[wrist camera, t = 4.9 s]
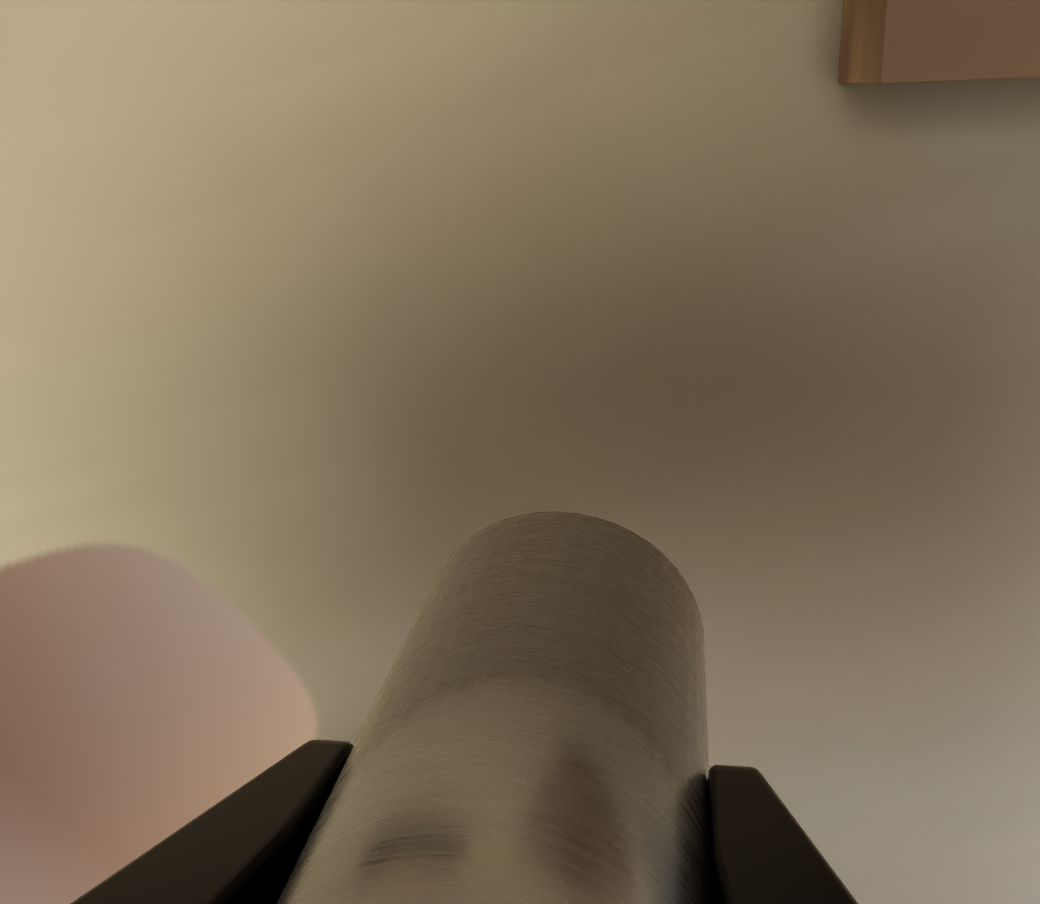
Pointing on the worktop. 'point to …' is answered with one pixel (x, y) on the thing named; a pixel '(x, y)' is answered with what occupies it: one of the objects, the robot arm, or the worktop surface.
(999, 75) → the bore block
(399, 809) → the cylinder
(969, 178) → the worktop surface
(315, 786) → the robot arm
